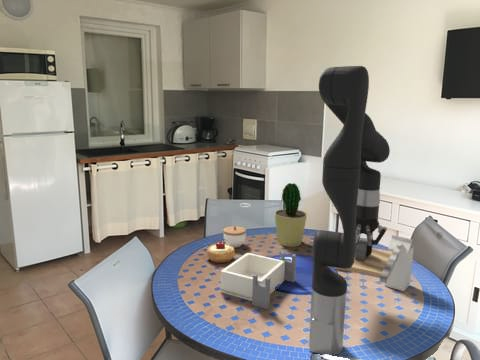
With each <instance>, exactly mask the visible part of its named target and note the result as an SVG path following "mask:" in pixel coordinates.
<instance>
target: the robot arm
mask: <svg viewBox="0 0 480 360" xmlns="http://www.w3.org/2000/svg"><path fill="white" fill-rule="evenodd" d="M369 86H370V77H369V71H368V69H367V68H366V67H365V66H363V65H347V66H346V65H345V66H331V67H327V68H324V70H323V71H322V72H321V74H320V76H319V79H318V92H319V95H320V97H321V100H322V101H323V103H324V104H325V106H327V108H328V109H329V110H330V111H331V112H332V113H333V114H334V116H335V117H336V118H337V119H338V120H339V121H340V123H341V124H342V125H343V126H342V128H341V130H340V131H339V133H338V134H337V136H336V137H335V139H334V140H333V142H332V143H331V144H330V145H329V147H328V149H326V152H325V154H324V157H323V160H322V176H321V177H322V178H321V180H322V181H321V182H322V186H323V188H324V191H325V193H326V194H327V196H328V199H330V201H331V203H332V205H333V206H334V208H335V210H336V212H337V214H338V217H339V219H340V221H341V222H340V223H341V226H342V227H341V228H342V232H339V231H332V230H324V229H323V230H317V232H315V235H314V237H313V242H312V275H311V276H312V278H311V279H312V280H311V282H312V283H311V284H312V285H311V298H310V299H311V300H310V301H311V302H310V318H309V336H308V345H309V352H312V353H315V354H318V353H319V355H321V354H329V355H334V356H337V355H339V354H341V353H342V351H343V348H344V334H345V333H344V332H345V319H346V304H347V294H348V293H347V291H348V282H347V280H346V278H345V277H344V276H342V275H341V274H339V273H338V272H335V271H333V270H332V269H331V268H332V267H337V268H344V269H349V268H351V267H352V265H353V263H354V260H355V252H356V244H357V243H358V242H359V241H360V240H361V235H362V234H364V235H366V239H367V241H368V245H367V253H366V256H368V257H369V255H371V253H372V248H373V246H377V245H378V244H379V243H380V241H381V239H382V238H383V237H384V235H385V234H386V232H387V230H388V228H387V227H386V226H382V225H381V224H380V222H379V211H380V203H381V200H380V199H381V194H380V193H381V192H380V190H381V187H380V186H381V179H382V176H381V175H382V174H381V172H380V171H379V170H377V169H375V168H371V167H370V166H368V165H369V164H368V163H367V162H370V163H378V164H379V163H383V162H386V160H388V159H389V157H390V153H391V152H390V151H391V150H390V149H391V148H390V145H389V143H388V141H387V139H386V138H385V137H384V136H383V135H382V134H381V133H380V132H379V131H377V130H376V127H375V125H374V122H373V120H372V119H371V116H369V115H368V114H367V113H366V109H367V103H368V97H369V89H370V87H369ZM377 229H378V230H377ZM376 230H377V233H378V235H377V237H376V238H375V239H374V232H375V231H376ZM328 266H330V267H328Z"/></svg>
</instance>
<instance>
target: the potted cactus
mask: <svg viewBox="0 0 480 360" xmlns="http://www.w3.org/2000/svg"><path fill="white" fill-rule="evenodd" d="M280 193H281V195H280V197H281V201H282V203H284V204H283V205H284V208H282V209H277V210H276V211H274V218H275V220H274V221H275V228H276V236H277V243H278V244H279V245H281V246H283V247H289V248H290V247H291V248H293V247H298V246H300V245H302V241H303V237H304V231H305V226H306V222H307V216H308V213H307V212H305V211H304V210H300V209H299V207H300V201H302V196H303V195H301V190H300V187H299V186H298V184H296V182H295V183H294V182H293V183H291V182H289V183H286V185H284V187H283V189H282V192H280Z"/></svg>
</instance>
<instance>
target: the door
mask: <svg viewBox="0 0 480 360" xmlns="http://www.w3.org/2000/svg"><path fill="white" fill-rule="evenodd" d="M367 245H368V241H367V237H360V240H359V242H358V243H357V244H356V252H355V260H354V263H353V265H352V267H351V268H349V269H344V268H337V267H330V266H327V267H328V268H333V269H335V268H337V269H341V271H346V272H350V273H355V274H360V275H364V276H369V277H373V278H378V279H379V282H380V283H383V284H385V283H386V282H387V280H388V278H389V276H390V274H391V272H392V270H393V267H394V265H395V263H396V261H397V259H398V257H399V254H400V250H399V249H394V250H393V252H391V251H388V250H385V249H380V248H379V249H378V248H374V247H372V253H371V255H369V257H368V256H366V253H367ZM337 269H336V270H337Z"/></svg>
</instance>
